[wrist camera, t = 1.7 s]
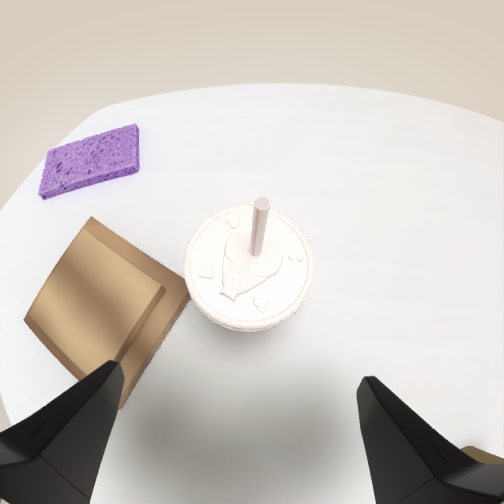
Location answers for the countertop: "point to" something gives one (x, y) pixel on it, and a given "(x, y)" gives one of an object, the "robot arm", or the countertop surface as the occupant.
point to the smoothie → (248, 267)
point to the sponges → (91, 161)
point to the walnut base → (152, 326)
